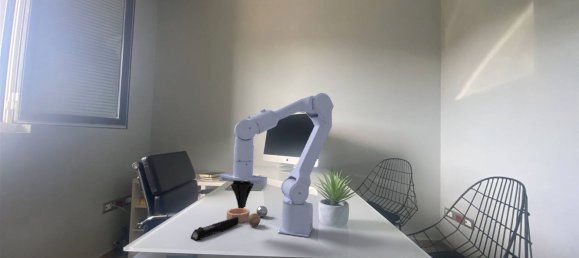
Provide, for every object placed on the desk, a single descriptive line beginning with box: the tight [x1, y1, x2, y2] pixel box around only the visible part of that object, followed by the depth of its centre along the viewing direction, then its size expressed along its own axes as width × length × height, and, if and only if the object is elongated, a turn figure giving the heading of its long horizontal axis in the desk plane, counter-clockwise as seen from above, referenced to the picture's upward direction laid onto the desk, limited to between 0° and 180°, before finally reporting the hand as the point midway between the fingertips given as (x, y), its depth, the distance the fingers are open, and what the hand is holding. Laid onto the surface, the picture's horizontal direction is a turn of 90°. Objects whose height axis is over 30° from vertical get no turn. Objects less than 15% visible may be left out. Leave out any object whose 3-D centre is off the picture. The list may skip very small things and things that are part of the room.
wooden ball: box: [247, 212, 261, 228], centre depth 75 cm, size 4×4×4 cm
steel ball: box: [256, 205, 268, 218], centre depth 84 cm, size 4×4×4 cm
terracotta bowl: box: [225, 207, 251, 224], centre depth 81 cm, size 8×8×3 cm
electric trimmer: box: [190, 217, 239, 242], centre depth 70 cm, size 4×16×3 cm, turn 143°
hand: (241, 207), depth 68 cm, fingers closed
